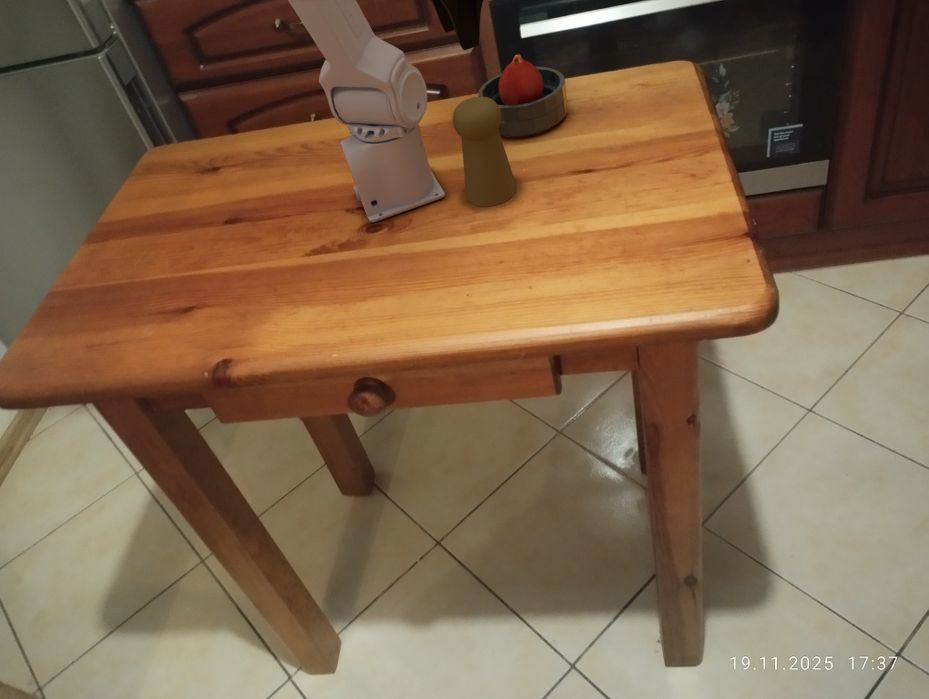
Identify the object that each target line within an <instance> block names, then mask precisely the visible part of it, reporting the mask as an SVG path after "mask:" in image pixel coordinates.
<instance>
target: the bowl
mask: <svg viewBox="0 0 929 699" xmlns="http://www.w3.org/2000/svg"><path fill="white" fill-rule="evenodd" d="M535 67H536V68H537V69H538V71H539V72H540V74H541V76H542V79H543V84H544V91H543V95H542V98H541V99H539V100H536V101H533V102H530V103H525V104H520V105H507V106H506V105H505V104H504V103H503V102H502V100H501V98H500V94H499V80H500V77H501V75H502V73H499V74H498V75H496V76H493V77H491V78H490V79H488V80H487V81H486V82H485V83H483V84H481V87H480V88H479V89H478V92H477V97H488V98H490V99H493V100H494V101H495V102H496V104H497V105H498V107H499V109H500V113H501V122H500V126H499V128H498V130H499V133H500V136H501V137H506V138H527V137H530V136H534V135H538V134H541V133H544V132H546V131H548V130H550V129H551V128H553V127H554V126H556V125H557V124H558V123H560V122H561V121H562V120H563V119H564V118H565V116H566V114H567V112H568V110H569V107H568V96H567V87H566V79H565V74H563V73H562V72H560V71H559V70H558V69H554V68H552V67H545V66H535Z"/></svg>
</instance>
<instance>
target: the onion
mask: <svg viewBox="0 0 929 699" xmlns="http://www.w3.org/2000/svg"><path fill="white" fill-rule="evenodd" d="M536 67H537V66H535V65H534V64H533V63H531V62H529V61H527V60H525V59H523V58H522V56H521V54H515V55H514V56H513V58H512V60H511V62H510V63H509V64H507V65H506V66H505V68H504V70H503V71H502V73H501V74H502V75H501V77H500V80H499V94H500V98H501V100H502V102H503V103H504V104H505V105H506V106H507V105H520V104H525V103H530V102H533V101H536V100H539V99H541V98H542V95H543V91H544V84H543V79H542V76H541V74H540V72H539V71H538V69H537V68H536Z"/></svg>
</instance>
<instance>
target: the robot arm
mask: <svg viewBox="0 0 929 699" xmlns="http://www.w3.org/2000/svg"><path fill="white" fill-rule="evenodd" d="M287 1H288V2H289V4H290V6H291V7H292V9H293V10H294V11H295V14H296V15H297V16H298V18H299V19H300V21H301V23H302V24H303V26H304V27H305V29H306V31H307V32H308V33H309V36H310V37H311V38H312V40H313V42H314V43H315V45H316V47H317V48H318V49H319V51H320V53H321V54H322V55H323V57H324V59H325V60H324V62H323V64H322V66H321V69H320V72H319V76H318V77H319V78H318V83H319V85H320V87H322V89H323V91H324V93H325V95H326V99H327V103H328V106H329V109H330V112H331V114H332V116H333V117H334V119H335V120H336V121H337V122H339V123H340V124H341V125H345V126H346V127H347V129H348V132H349V134H350V135H349V136H348V137H346V138H344V139H342V140H340V141H339V144H340V148H341V150H342V153H343V156H344V159H345V161H346V165H347V167H348V170H349V173H350V175H351V178H352V181H353V184H354V185H353V186H352V188H353V192H354V194H355V197H356V199H357V201H358V202H360V203H361V205H362V207H363V209H364V212H365V213H366V216H367V219H368V221H369V223H376V222H379V221H381V220H384V219H387V218H390V217H392V216H393V217H394V216H396V215H398V214H399V215H400V214H402V213H404V212H407V211H411V210H412V209H415V208H418V207H421V206H424V205H427V204H429V203H432V202H434V201H438V200H441V199H443V198H445V197H446V193H445V190H444V189H443V188H442V186H441V184H440V183H439V182H438V179H437V178H436V177H435V175H434V173H433V171H432V170H431V166H430V162H429V158H428V155H427V150H426V146H425V143H424V139H423V135H422V131H421V127H420V122H421V121H422V119H423V117H424V115H425V113H426V110H427V105H428V89H427V85H426V81H425V79H424V77H423V75H422V73H421V72H420V70H419V69H418V68H417V67H416V66H414V65H413V64H411V62H409V61H408V58H407V57H406V55H405V53H404V51H403V50H401V49H399V48H398V47H396V46H394V45H392V44H390V43H388V42H387V41H386V40H383V39H381V38H380V37H378V36H377V35H375V32H374V31H373V29H372V28H371V26H370V23H369V21H368V20H367V18H366V16H365V14H364V13H363V11H362V9H361V7H360V5H359V3H358V1H357V0H287ZM430 1H431V3H432V6H433V8H434V11H435V13H436V15H437V18H438V20H439V23H440V25H441V27H442V29H443V31H444V32H445V34H447V33H449V32H453V31H454V32H455V35H456V39H457V41H458V44H459V45H460V47H461V50H463V51H467V50H470V49H474V48H476V47H479V45H480V35H481V34H480V32H481V15H482V9H483V8H482V7H483V3H484V0H430Z"/></svg>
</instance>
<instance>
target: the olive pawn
mask: <svg viewBox="0 0 929 699" xmlns="http://www.w3.org/2000/svg"><path fill="white" fill-rule="evenodd" d="M500 122H501V113H500V109H499V107H498V105H497V104H496V102H495V101H494V100H493V99H490V98H488V97H478V96H473V97H470V98H467V99H465V100H462V101H461V102H460V103H458V104H457V105H456V106H455V108H454V110H453V113H452V124H453V128H454V130H455V132H456V133H457V135H458V136H460V138H461V150H462V162H463V174H464V187H465V189H464V190H465V198H466V200H467V202H468V203H470V204H471V205H473V206H477V207H485V208H486V207H494V206H498V205H501V204H504V203H505V202H507V201H509V200H510V199H511V198H513V197H514V196H515V194H516V193H517V190H518V189H517V186H518V185H517V183H516V180H515V177H514V174H513V171H512V170H513V169H512V167H511V164H510V161H509V158H508V154H507V152H506V149H505V146H504V142H503V139H502V136H500V133H499V130H498V128H499V126H500Z"/></svg>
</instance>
